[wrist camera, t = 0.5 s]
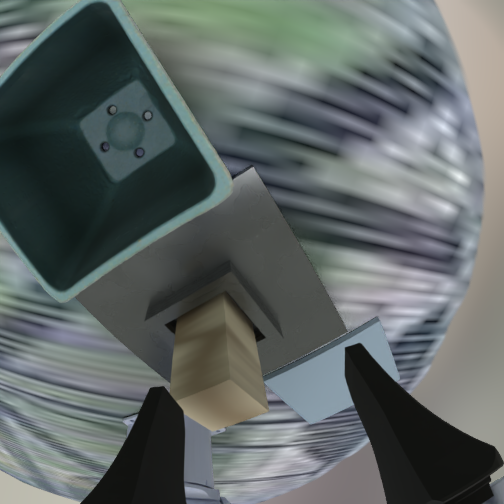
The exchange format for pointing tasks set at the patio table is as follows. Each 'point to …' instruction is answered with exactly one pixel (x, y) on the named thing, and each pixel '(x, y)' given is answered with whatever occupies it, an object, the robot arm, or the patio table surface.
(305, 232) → the patio table surface
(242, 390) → the peg
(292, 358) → the socket base
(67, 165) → the flower pot
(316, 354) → the board
